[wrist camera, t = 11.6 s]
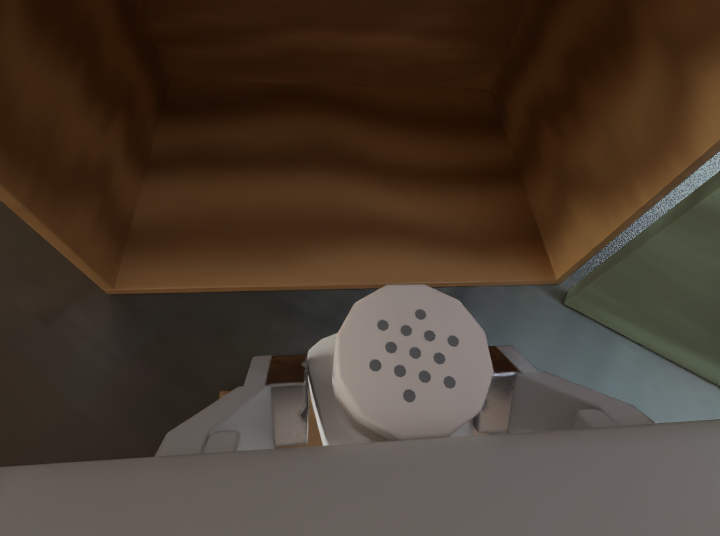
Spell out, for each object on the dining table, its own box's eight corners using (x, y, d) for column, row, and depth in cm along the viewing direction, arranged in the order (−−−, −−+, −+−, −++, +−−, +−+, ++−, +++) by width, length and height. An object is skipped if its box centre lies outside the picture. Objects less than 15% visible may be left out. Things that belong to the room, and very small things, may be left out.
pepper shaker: (395, 361, 17) (461, 247, 9) (431, 456, 15) (554, 423, 7) (307, 388, 16) (291, 290, 8) (334, 492, 15) (348, 502, 6)
